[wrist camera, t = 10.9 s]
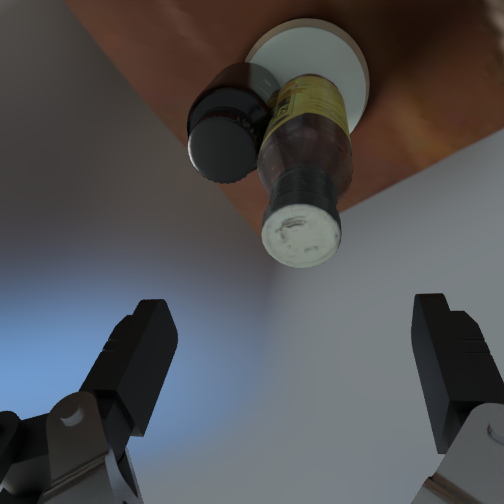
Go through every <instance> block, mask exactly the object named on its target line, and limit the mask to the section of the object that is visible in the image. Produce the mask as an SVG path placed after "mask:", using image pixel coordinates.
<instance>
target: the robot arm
mask: <svg viewBox="0 0 504 504" xmlns="http://www.w3.org/2000/svg"><path fill="white" fill-rule="evenodd" d="M411 341H412V347H413V353H414V357H415V361H416V365H417V369H418V373H419V377H420V381H421V386H422V390H423V394H424V398H425V402H426V406H427V411H428V415H429V419H430V423H431V427H432V431H433V435H434V439H435V444H436V448H437V452H438V454H446V455H445V457H444V458H443V460H442V462H441V463H440V465H439V467H438V468H437V470H436V472H435V473H434V475H433V476H432V477H428V478H427V479H426V481H425V482H424V483H423V485H422V486H421V488H420V490H419V491H418V493H417V495H416V496H415V498H414V500H413V501H412V503H411V504H504V382H503V380H502V378H501V376H500V373H499V371H498V369H497V366H496V364H495V362H494V359H493V357H492V355H490V351H489V348H488V346H487V344H486V342H485V340H484V337H483V334H482V332H481V330H480V328H479V325H478V324H477V323H476V322H475V321H474V320H473V319H472V318H471V317H470V316H469V315H468V314H467V313H466V312H465V311H450V309H449V306H448V303H447V301H446V298H445V296H444V295H443V294H442V293H434V294H416V295H415V299H414V307H413V317H412V327H411ZM177 344H178V333H177V329H176V326H175V324H174V321H173V318H172V316H171V313H170V311H169V308H168V305H167V303H166V301H165V300H164V299H151V300H141V301H140V302H139V304H138V305H137V307H136V309H135V311H134V313H133V315H127V316H126V317H125V318H123V319H122V320H121V321H120V322H119V323H118V324H117V325H116V326H115V328H114V330H113V332H112V333H111V335H110V337H109V338H108V341H107V342H106V344H105V345H104V347H103V349H102V350H103V351H102V352H101V353H100V354H99V356H98V358H97V360H96V361H95V363H94V365H93V367H92V368H91V370H90V372H89V374H88V375H87V377H86V379H85V381H84V382H83V384H82V386H81V388H80V389H79V391H78V392H75V393H72V394H70V395H68V396H66V397H64V398H63V399H61V400H60V401H59V402H58V403H57V404H56V405H55V406H54V407H53V408H52V410H51V411H50V413H47V414H43V415H40V416H36V417H32V418H29V419H25V420H21V419H20V418H19V417H18V416H17V415H16V413H14V412H11V411H2V412H0V485H2V486H3V489H2V491H1V492H0V504H144V502H143V499H142V496H141V492H140V489H139V485H138V483H137V479H136V475H135V472H134V468H133V465H132V462H131V458H130V455H129V451H128V449H127V447H126V445H127V443H128V440H129V437H130V436H138V437H139V436H140V437H143V436H144V434H145V431H146V428H147V426H148V423H149V420H150V418H151V415H152V412H153V410H154V407H155V404H156V402H157V399H158V396H159V394H160V391H161V388H162V386H163V383H164V380H165V377H166V375H167V372H168V370H169V367H170V364H171V362H172V359H173V356H174V354H175V350H176V348H177Z"/></svg>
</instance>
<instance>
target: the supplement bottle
mask: <svg viewBox="0 0 504 504" xmlns="http://www.w3.org/2000/svg"><path fill="white" fill-rule="evenodd" d="M280 90H281V87H280V85H279V83H278V81H277V79H276V78H275V77H274V76H273V74H272V73H271V72H269V71H268V70H267V69H265V68H264V67H262V66H260V65H258V64H255V63H249V62H240V63H235V64H232V65H230V66H228V67H226V68H225V69H223V70H222V71H221V72H220V73H219V74H218V75H217V76H216V77H215V78H214V79H213V80H212V81H211V82H210V84H209V85H208V86H207V87H206V88H205V89H204V90H203V91H202V92H201V94H200V95H199V96H198V97H197V98H196V100H195V101H194V102H193V104H192V106H191V108H190V110H189V113H188V117H187V124H186V129H187V136H188V140H187V143H188V146H187V150H188V156H189V157H190V161H191V163H192V164H193V167H194V168H196V170H197V172H198V173H201V174H202V176H203V177H206V178H207V179H208V180H212V181H214V182H219V183H221V184H223V183H227V184H229V183H235V182H236V181H240V180H241V179H242V178H244V177H246V176H247V174H249V173H250V172H252V171H254V170H256V169H257V163H258V156H259V153H260V148H261V145H262V142H263V138H264V135H265V132H266V130H267V128H268V124H269V123H270V121H271V120H272V117H273V115H274V111H275V107H276V103H277V99H278V94H279V91H280Z"/></svg>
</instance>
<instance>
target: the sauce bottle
mask: <svg viewBox="0 0 504 504" xmlns="http://www.w3.org/2000/svg"><path fill="white" fill-rule="evenodd" d="M352 168H353V166H352V148H351V141H350V134H349V128H348V121H347V115H346V109H345V104H344V100H343V97H342V95H341V93H340V92H339V90H338V88H337V86H336V85H335V84H334V83H333V82H331V81H330V80H328V79H327V78H325V77H323V76H321V75H317V74H311V73H309V74H303V75H299V76H297V77H295V78H294V79H291V80H289V81H288V82H287V83H286V84H285V86H284V87H283V88H282V89H281V90H280V91H279V94H278V99H277V103H276V107H275V111H274V115H273V117H272V120H271V121H270V123H269V124H268V128H267V130H266V132H265V135H264V138H263V142H262V145H261V148H260V153H259V156H258V163H257V169H258V174H259V177H260V180H261V181H262V183H263V185H264V187H265V189H266V191H267V193H268V195H269V201H270V202H269V206H267V209H266V211H265V213H264V216H263V221H262V229H261V237H262V242H263V244H264V247H265V248H266V250H267V252H268V253H269V254H271V256H272V257H273V258H275V259H276V260H277V261H279V262H281V263H282V264H285V265H288V266H291V267H298V268H307V267H312V266H316V265H318V264H321V263H324V262H325V261H326V260H328V259H330V258H331V257H332V256H333V255H334V253H335V252H336V251H337V249H338V247H339V244H340V241H341V222H340V217H339V213H338V211H337V209H336V204H338V202H340V200H341V199H342V198H343V197H344V195H345V194H346V192H347V190H348V188H349V186H350V183H351V181H352V173H353V169H352Z"/></svg>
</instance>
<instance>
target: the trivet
mask: <svg viewBox="0 0 504 504" xmlns="http://www.w3.org/2000/svg"><path fill="white" fill-rule="evenodd" d="M245 62H249V63H255V64H258V65H260V66H262V67H264V68H265V69H267V70H268V71H269V72H271V73H272V74H273V76H274V77H275V78H276V79H277V81H278V83H279V85H280V87H281V89H282V88H283V87H284V86H285V84H286V83H287V82H288V81H289V80H291V79H294V78H295V77H297V76H299V75H303V74H309V73H311V74H317V75H321V76H323V77H325V78H327V79H328V80H330V81H331V82H333V83H334V84H335V85H336V86H337V88H338V90H339V92H340V93H341V95H342V97H343V100H344V104H345V109H346V115H347V121H348V128H349V134H350V133H351V132H352V131H353V129H354V128H355V127H356V125H357V124H358V122H359V120H360V119H361V117H362V115H363V113H364V110H365V107H366V104H367V101H368V96H369V86H370V83H369V72H368V67H367V64H366V61H365V58H364V56H363V54H362V52H361V50H360V48H359V46H358V45H357V43H356V42H355V41H354V39H353V38H352V37H351V36H350V35H349V34H348V33H347V32H345V31H344V30H343V29H342V28H340V27H338V26H336V25H335V24H333V23H330V22H328V21H325V20H320V19H316V18H300V19H294V20H290V21H287V22H284V23H282V24H279V25H278V26H276V27H274V28H272V29H271V30H269V31H268V32H267V33H266V34H264V35H263V36H262V37H261V38H260V39H259V40H258V41H257V43H256V44H255V45H254V47H253V48H252V49H251V51H250V52H249V54H248V56H247V58H246V60H245Z"/></svg>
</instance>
